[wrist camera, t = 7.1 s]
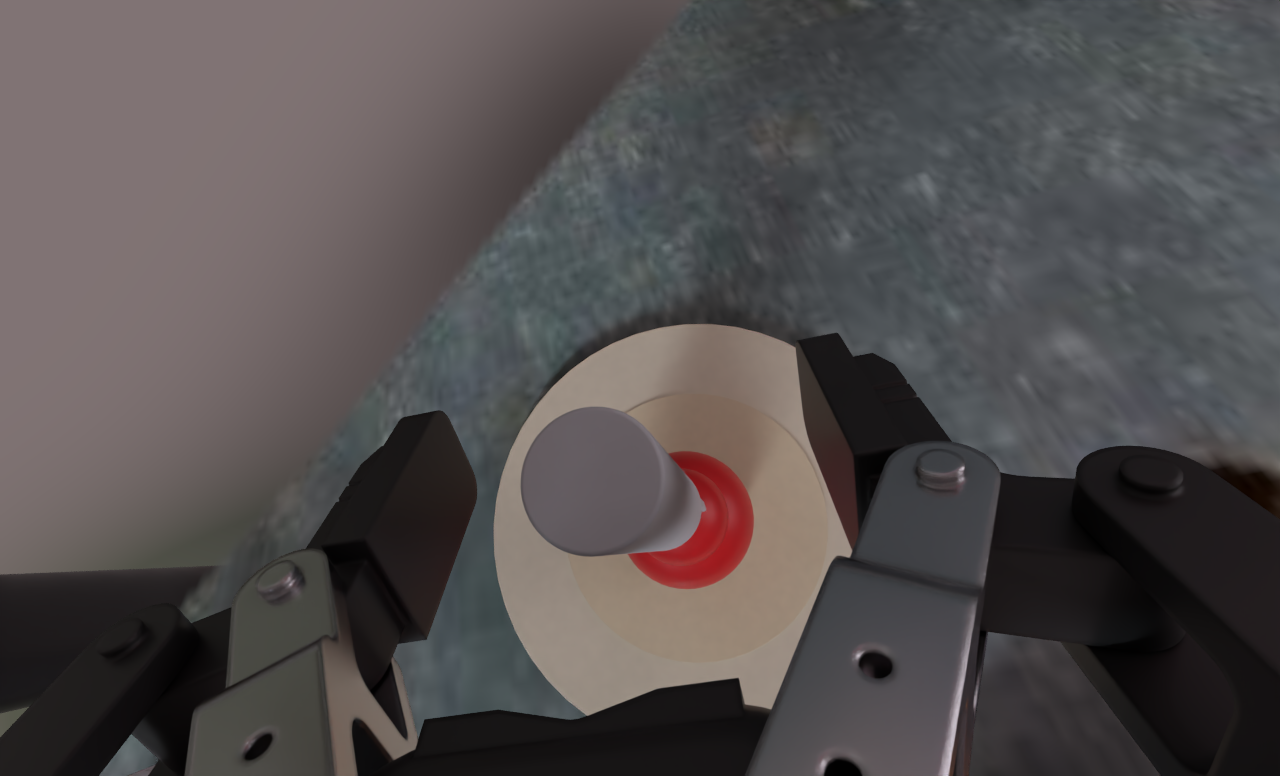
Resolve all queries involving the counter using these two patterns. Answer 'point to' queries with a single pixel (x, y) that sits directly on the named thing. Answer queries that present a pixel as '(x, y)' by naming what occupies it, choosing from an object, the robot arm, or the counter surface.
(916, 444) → the robot arm
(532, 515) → the forked strawberry
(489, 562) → the counter surface
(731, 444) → the plate
